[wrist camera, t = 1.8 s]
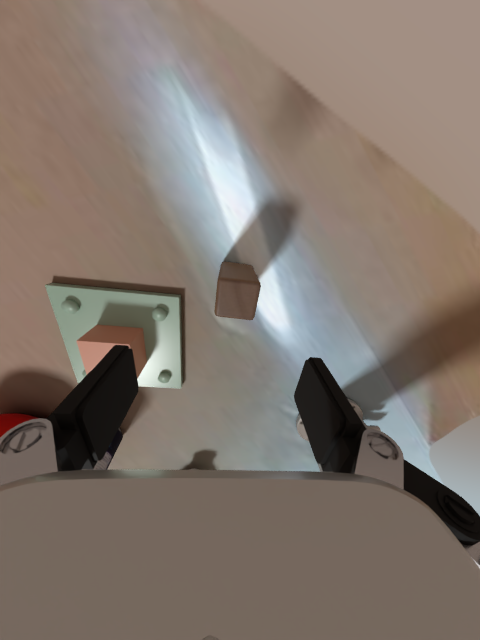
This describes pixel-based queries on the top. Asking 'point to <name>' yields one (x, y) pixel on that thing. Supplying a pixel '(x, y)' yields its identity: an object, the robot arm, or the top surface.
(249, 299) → the wooden block
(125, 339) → the brick
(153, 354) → the baseplate
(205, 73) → the top surface
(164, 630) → the robot arm
